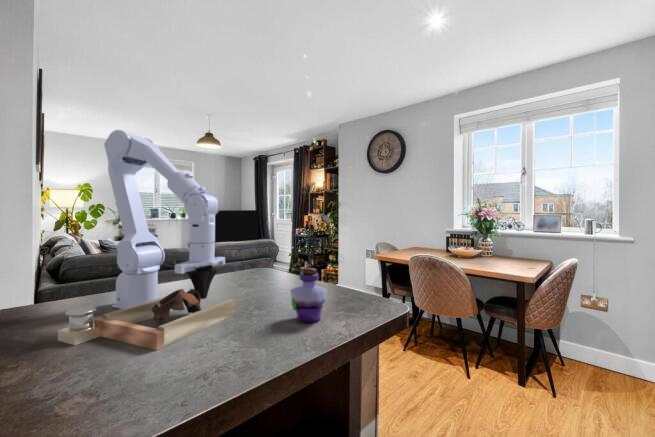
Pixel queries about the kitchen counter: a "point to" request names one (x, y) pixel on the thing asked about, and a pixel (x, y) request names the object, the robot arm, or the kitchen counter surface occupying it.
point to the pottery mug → (177, 303)
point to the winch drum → (79, 326)
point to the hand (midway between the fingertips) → (201, 298)
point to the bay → (125, 329)
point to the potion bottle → (308, 297)
